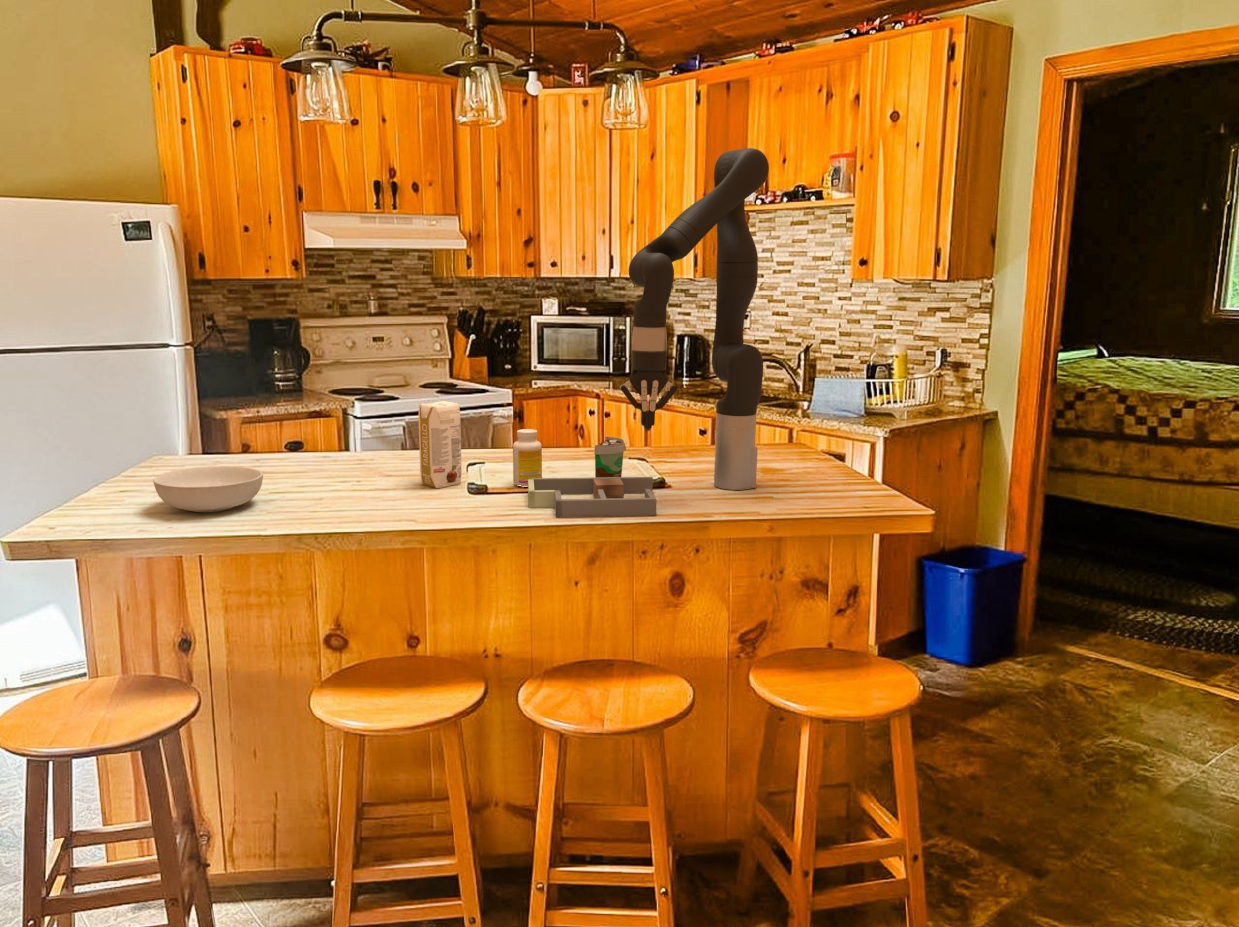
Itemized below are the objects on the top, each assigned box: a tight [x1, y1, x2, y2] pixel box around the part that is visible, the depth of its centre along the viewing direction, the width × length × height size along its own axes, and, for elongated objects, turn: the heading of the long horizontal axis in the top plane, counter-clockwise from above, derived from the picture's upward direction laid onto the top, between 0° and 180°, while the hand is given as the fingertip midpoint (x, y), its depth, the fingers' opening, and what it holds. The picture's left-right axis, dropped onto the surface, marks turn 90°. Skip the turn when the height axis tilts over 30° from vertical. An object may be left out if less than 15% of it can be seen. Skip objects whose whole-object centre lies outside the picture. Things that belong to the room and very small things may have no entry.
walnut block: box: [592, 478, 625, 499], centre depth 209 cm, size 6×6×4 cm
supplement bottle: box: [512, 428, 543, 486], centre depth 220 cm, size 7×7×13 cm
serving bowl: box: [153, 465, 264, 513], centre depth 198 cm, size 21×21×7 cm
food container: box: [593, 436, 627, 477], centre depth 223 cm, size 12×6×10 cm, turn 168°
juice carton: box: [417, 400, 462, 489], centre depth 219 cm, size 8×9×19 cm
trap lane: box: [527, 476, 658, 518], centre depth 204 cm, size 28×21×4 cm
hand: (647, 427), depth 207 cm, fingers closed
